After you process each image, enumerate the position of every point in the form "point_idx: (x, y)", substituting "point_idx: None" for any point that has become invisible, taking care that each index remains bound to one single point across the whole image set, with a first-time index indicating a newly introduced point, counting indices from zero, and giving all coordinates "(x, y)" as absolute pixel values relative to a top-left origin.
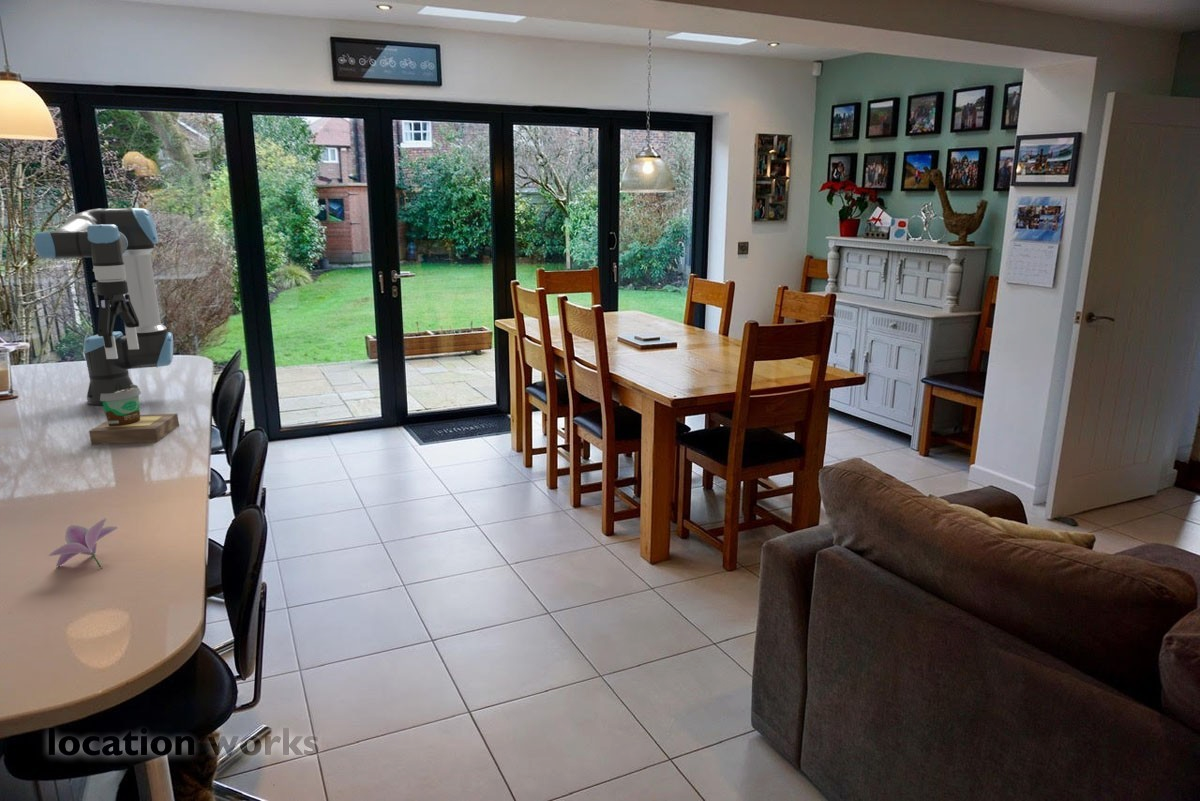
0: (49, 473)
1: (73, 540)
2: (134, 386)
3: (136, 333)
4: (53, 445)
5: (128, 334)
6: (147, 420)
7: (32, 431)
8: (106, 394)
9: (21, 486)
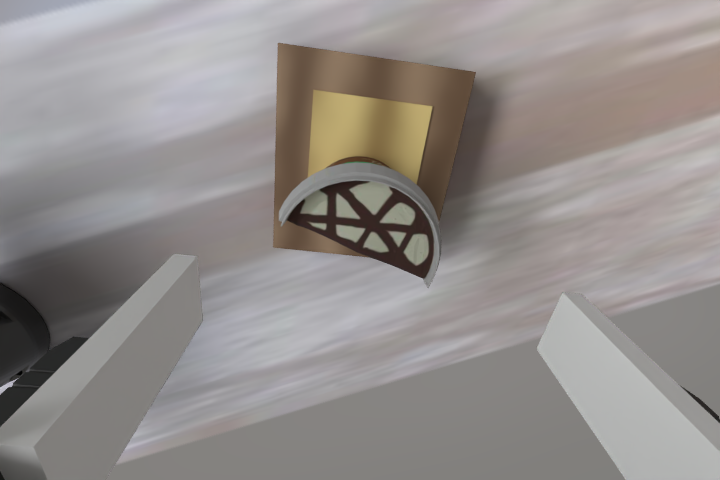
0: (622, 259)
1: None
2: (297, 204)
3: (76, 359)
4: (400, 318)
5: (126, 419)
6: (366, 129)
7: (274, 386)
8: (435, 266)
9: (683, 279)
